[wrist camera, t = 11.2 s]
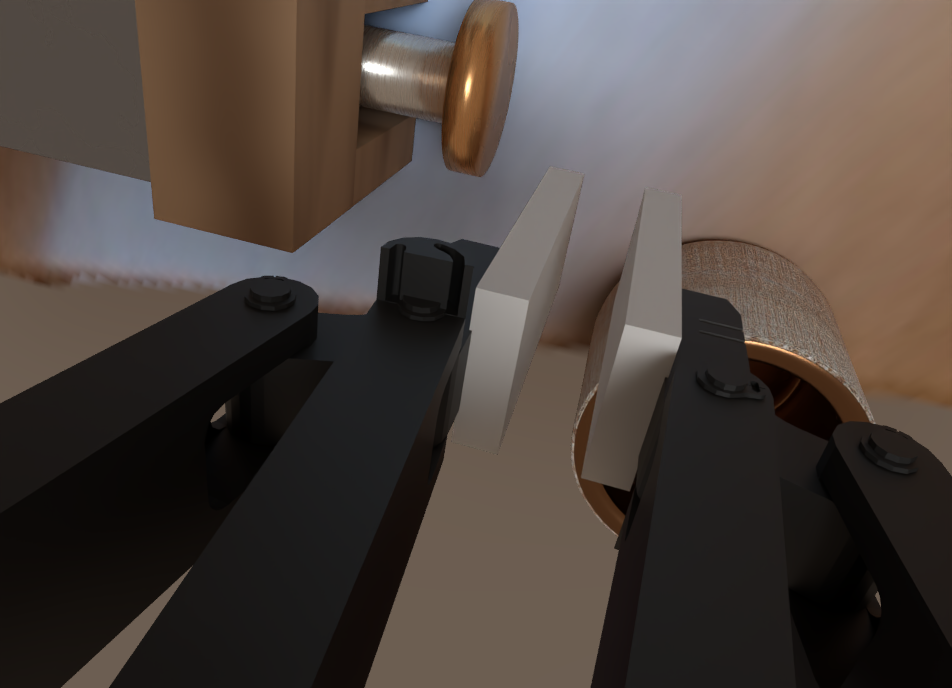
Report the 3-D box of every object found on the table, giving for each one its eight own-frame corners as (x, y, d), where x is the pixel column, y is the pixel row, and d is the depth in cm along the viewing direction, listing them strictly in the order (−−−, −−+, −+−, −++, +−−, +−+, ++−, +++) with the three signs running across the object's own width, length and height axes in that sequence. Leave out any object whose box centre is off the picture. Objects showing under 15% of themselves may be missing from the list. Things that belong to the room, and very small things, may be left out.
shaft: (212, 92, 34) (122, 119, 28) (205, -61, 31) (102, -64, 25) (501, 155, 32) (464, 197, 26) (526, -3, 29) (491, 9, 23)
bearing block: (107, 94, 36) (-50, 134, 28) (82, -118, 31) (-113, -141, 23) (292, 135, 34) (180, 189, 27) (295, -81, 30) (161, -92, 22)
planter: (862, 405, 34) (920, 551, 25) (640, 458, 38) (629, 596, 30) (794, 197, 30) (837, 288, 22) (558, 282, 34) (521, 384, 26)
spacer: (312, 138, 34) (154, 218, 24) (318, -79, 29) (126, -96, 19) (411, 160, 33) (292, 253, 23) (433, -59, 29) (298, -64, 19)
